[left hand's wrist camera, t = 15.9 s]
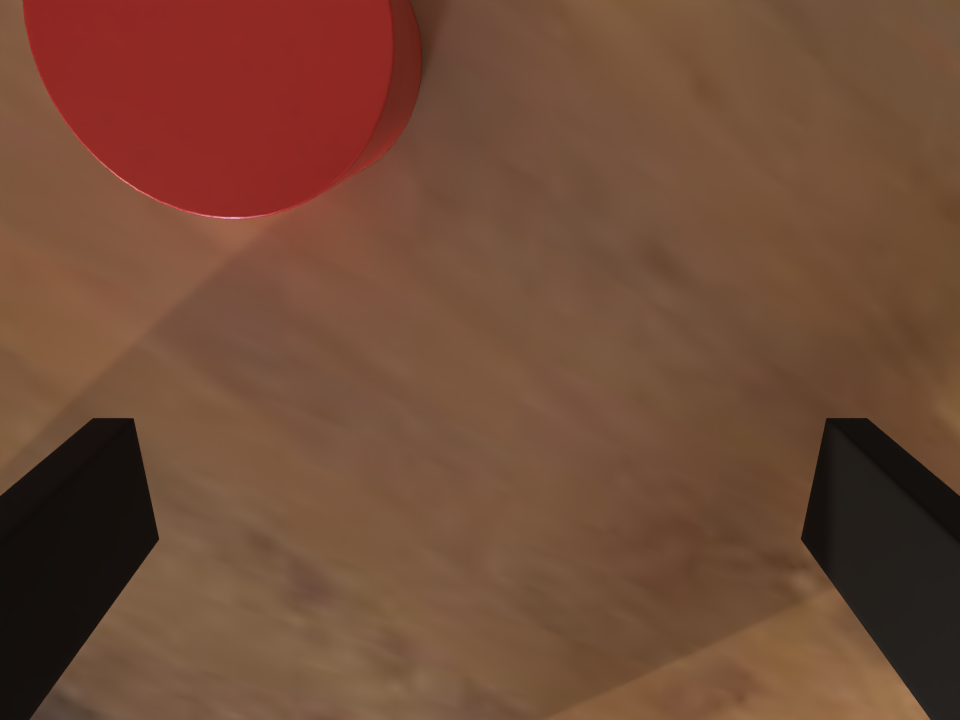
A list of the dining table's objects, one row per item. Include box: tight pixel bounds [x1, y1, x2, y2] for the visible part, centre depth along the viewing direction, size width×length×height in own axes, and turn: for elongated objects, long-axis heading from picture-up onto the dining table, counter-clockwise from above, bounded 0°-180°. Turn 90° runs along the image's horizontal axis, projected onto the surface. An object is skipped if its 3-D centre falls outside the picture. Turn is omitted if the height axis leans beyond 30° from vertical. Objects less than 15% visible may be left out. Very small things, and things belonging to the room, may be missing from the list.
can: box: [23, 0, 422, 219], centre depth 20 cm, size 9×9×9 cm
